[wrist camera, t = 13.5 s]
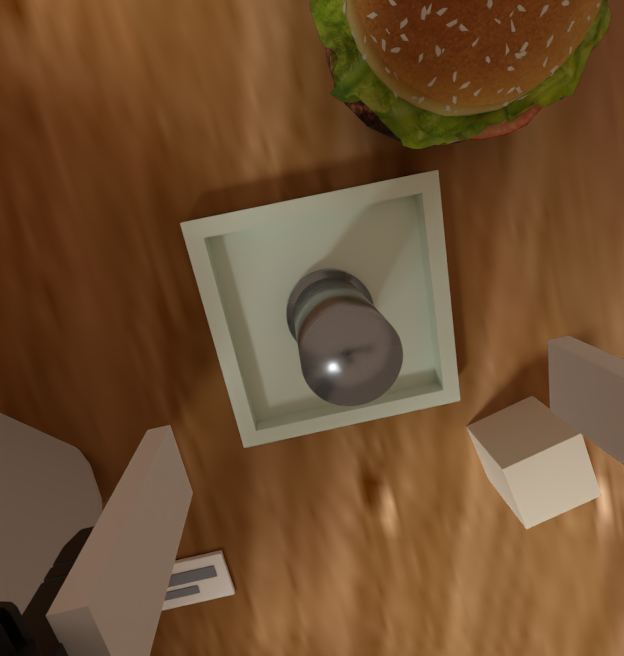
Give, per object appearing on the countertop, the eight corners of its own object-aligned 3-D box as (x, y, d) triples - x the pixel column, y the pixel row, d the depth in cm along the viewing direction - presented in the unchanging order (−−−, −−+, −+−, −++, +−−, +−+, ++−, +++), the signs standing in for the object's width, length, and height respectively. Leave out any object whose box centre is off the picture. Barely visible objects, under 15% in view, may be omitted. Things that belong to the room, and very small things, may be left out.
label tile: (157, 608, 32) (156, 613, 32) (140, 568, 31) (139, 572, 30) (235, 590, 32) (234, 595, 32) (221, 550, 31) (221, 554, 30)
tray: (245, 432, 28) (244, 448, 26) (186, 221, 24) (179, 223, 22) (449, 388, 28) (460, 400, 27) (426, 171, 24) (438, 169, 22)
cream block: (487, 478, 31) (526, 529, 26) (465, 425, 30) (502, 469, 25) (550, 449, 31) (601, 495, 26) (531, 394, 29) (581, 433, 25)
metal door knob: (295, 359, 26) (304, 425, 19) (278, 278, 25) (279, 314, 17) (377, 342, 26) (418, 400, 19) (364, 260, 25) (404, 288, 17)
